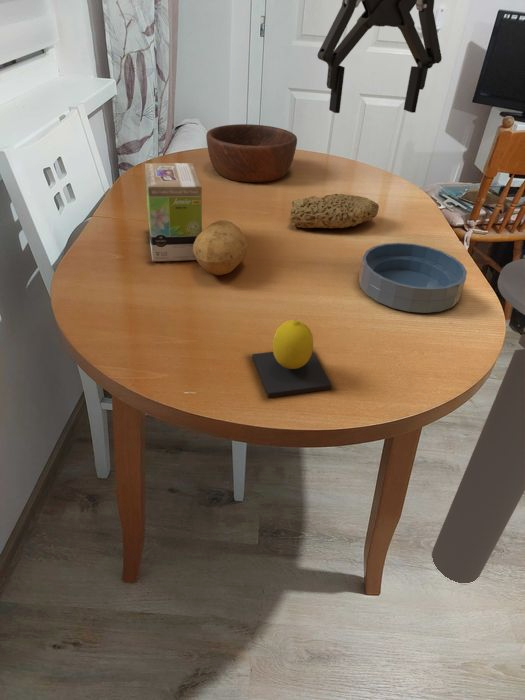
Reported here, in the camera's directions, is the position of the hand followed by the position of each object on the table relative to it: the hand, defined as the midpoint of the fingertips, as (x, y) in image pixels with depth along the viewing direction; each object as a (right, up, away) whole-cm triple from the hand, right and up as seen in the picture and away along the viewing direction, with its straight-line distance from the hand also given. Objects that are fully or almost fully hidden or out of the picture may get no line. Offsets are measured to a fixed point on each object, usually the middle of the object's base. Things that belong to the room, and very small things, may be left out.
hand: (372, 111), depth 86 cm
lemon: (-14, -42, -12) cm, 46 cm away
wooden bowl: (-22, +11, +62) cm, 67 cm away
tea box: (-36, -18, +20) cm, 45 cm away
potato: (-26, -24, +13) cm, 38 cm away
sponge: (-2, -11, +34) cm, 35 cm away
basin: (+9, -28, +10) cm, 31 cm away
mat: (-14, -43, -12) cm, 47 cm away
